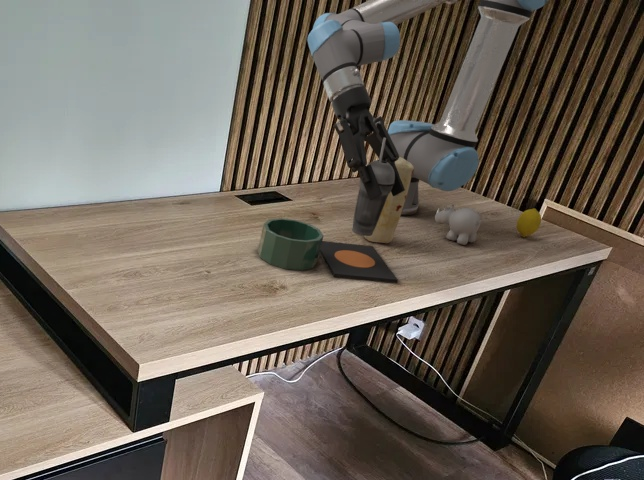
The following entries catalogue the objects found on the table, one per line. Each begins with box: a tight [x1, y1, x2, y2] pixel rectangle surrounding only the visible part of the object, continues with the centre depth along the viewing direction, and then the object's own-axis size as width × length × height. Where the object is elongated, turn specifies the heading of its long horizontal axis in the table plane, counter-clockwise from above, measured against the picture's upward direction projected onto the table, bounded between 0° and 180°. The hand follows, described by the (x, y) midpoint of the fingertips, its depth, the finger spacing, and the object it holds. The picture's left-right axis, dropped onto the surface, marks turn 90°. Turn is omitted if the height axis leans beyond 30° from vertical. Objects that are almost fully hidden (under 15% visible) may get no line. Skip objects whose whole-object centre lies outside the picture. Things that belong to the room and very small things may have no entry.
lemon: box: [515, 208, 542, 238], centre depth 182 cm, size 6×6×8 cm
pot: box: [257, 217, 325, 271], centre depth 149 cm, size 13×13×6 cm
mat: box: [319, 240, 399, 284], centre depth 153 cm, size 18×14×1 cm
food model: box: [363, 157, 414, 244], centre depth 163 cm, size 10×7×20 cm
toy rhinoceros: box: [434, 204, 482, 246], centre depth 174 cm, size 7×12×8 cm, turn 35°
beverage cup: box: [351, 138, 395, 237], centre depth 144 cm, size 7×7×20 cm
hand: (387, 195), depth 142 cm, fingers closed on beverage cup, 7 cm apart
